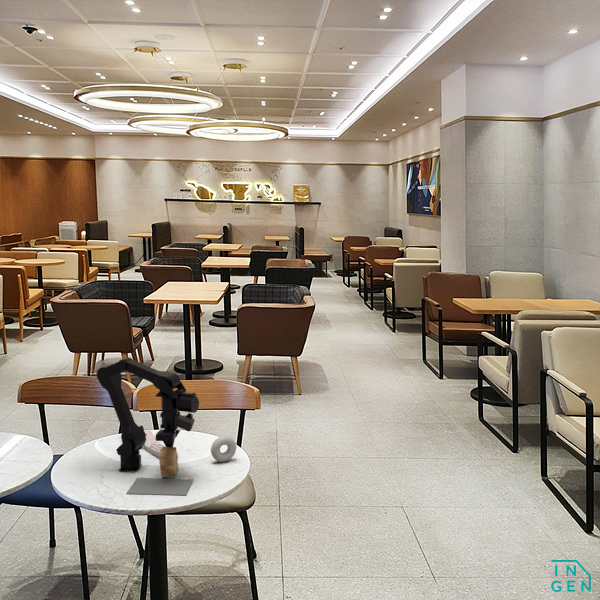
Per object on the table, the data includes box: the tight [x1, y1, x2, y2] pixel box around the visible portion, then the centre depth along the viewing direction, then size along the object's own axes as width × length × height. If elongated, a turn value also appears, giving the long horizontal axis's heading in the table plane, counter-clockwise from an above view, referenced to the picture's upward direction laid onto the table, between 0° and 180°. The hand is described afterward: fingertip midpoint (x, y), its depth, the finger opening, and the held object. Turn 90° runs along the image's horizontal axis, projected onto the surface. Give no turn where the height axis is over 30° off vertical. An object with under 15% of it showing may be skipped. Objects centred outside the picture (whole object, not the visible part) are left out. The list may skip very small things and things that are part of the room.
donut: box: [210, 435, 237, 463], centre depth 251 cm, size 10×3×10 cm, turn 117°
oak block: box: [158, 446, 179, 479], centre depth 235 cm, size 5×5×10 cm
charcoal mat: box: [126, 477, 194, 497], centre depth 228 cm, size 20×13×1 cm, turn 88°
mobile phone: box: [144, 429, 179, 459], centre depth 259 cm, size 6×6×25 cm
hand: (170, 451), depth 237 cm, fingers closed
